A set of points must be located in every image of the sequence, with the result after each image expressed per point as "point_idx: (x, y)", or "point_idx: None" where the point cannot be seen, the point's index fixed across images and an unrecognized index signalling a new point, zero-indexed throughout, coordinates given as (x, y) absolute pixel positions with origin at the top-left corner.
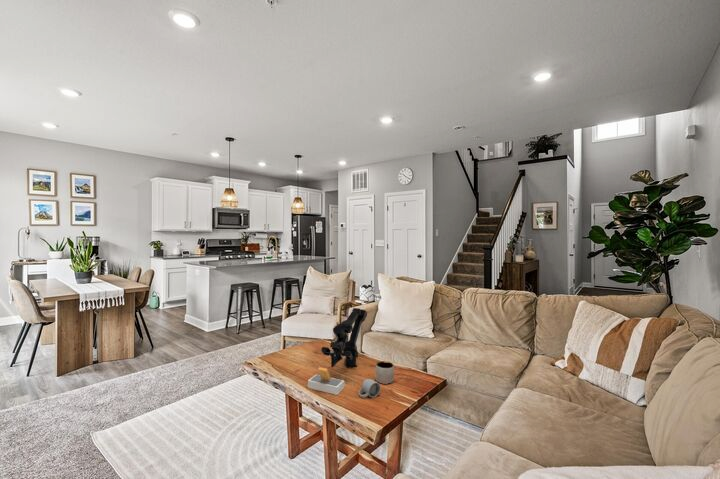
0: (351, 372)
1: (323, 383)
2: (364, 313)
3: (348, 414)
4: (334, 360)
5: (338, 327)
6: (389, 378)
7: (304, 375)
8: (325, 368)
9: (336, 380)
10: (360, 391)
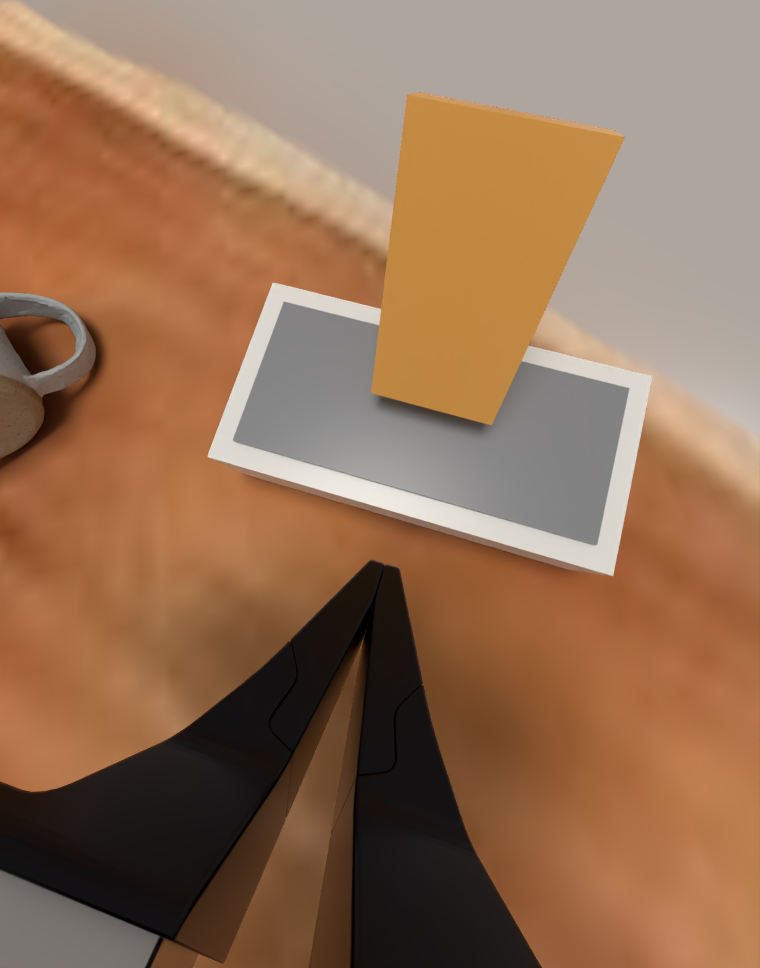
0: None
1: None
2: None
3: (183, 94)
4: (318, 662)
5: None
6: None
7: (753, 705)
8: (455, 105)
9: (300, 429)
10: (66, 370)
